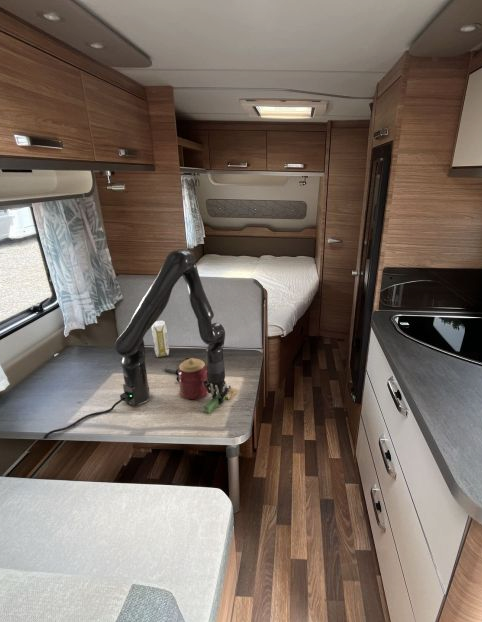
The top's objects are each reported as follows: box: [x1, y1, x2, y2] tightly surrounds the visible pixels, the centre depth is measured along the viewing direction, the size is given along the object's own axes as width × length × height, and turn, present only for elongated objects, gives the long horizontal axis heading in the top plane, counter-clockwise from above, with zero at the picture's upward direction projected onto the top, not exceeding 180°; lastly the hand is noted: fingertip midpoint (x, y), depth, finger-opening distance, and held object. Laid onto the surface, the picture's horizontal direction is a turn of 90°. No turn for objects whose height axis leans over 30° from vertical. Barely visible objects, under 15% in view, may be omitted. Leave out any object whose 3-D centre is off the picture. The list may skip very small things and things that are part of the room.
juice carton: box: [151, 320, 170, 358], centre depth 188 cm, size 8×9×19 cm
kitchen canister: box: [177, 357, 208, 400], centre depth 154 cm, size 13×13×18 cm
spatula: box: [203, 387, 238, 415], centre depth 150 cm, size 19×6×3 cm, turn 154°
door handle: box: [164, 357, 204, 382], centre depth 174 cm, size 3×20×16 cm
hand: (218, 402), depth 149 cm, fingers closed on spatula, 2 cm apart
